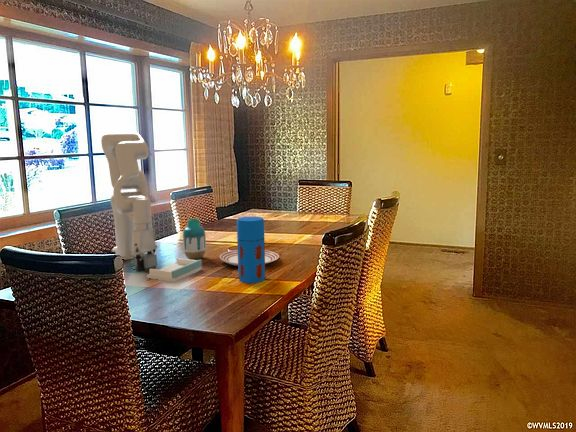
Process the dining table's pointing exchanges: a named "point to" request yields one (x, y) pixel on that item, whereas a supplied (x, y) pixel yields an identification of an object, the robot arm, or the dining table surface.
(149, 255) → the lidded gray box
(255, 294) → the dining table surface
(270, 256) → the dinner plate
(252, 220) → the thermos
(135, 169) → the robot arm
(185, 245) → the vase
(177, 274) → the loading dock
